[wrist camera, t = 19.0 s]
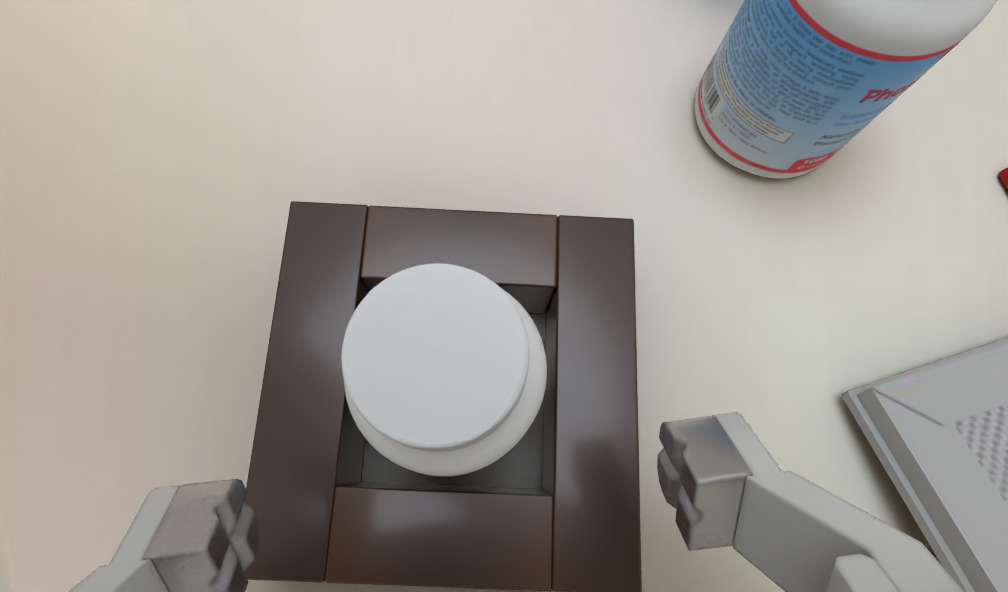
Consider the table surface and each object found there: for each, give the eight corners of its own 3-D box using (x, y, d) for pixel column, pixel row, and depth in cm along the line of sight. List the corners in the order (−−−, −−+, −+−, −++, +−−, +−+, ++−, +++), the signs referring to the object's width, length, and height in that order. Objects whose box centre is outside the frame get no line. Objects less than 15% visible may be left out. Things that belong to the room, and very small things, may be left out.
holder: (276, 558, 19) (231, 579, 16) (320, 240, 22) (290, 200, 19) (615, 571, 19) (642, 595, 16) (611, 254, 22) (634, 218, 19)
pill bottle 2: (803, 209, 23) (1084, -12, 12) (665, 139, 24) (818, -130, 13) (855, 97, 25) (1148, -189, 14) (725, 34, 25) (906, -286, 14)
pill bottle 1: (455, 294, 22) (435, 186, 13) (561, 388, 21) (613, 338, 12) (352, 399, 20) (256, 357, 12) (460, 504, 20) (440, 539, 11)
